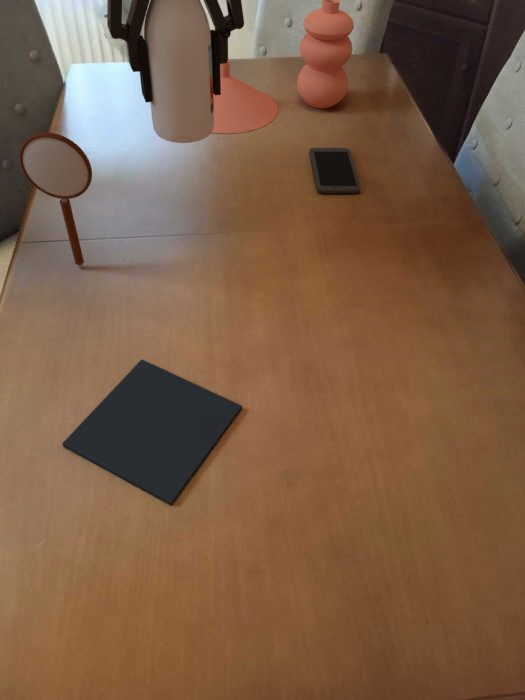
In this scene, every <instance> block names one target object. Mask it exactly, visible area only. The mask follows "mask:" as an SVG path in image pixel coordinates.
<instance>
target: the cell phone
mask: <svg viewBox="0 0 525 700" xmlns="http://www.w3.org/2000/svg"><path fill="white" fill-rule="evenodd" d="M308 155H309V159H310V164H311V169H312V174H313V179H314V184H315V189H316V192H317V193H318V194H358V193H360V192H361V191H362V190H361V189H362V187H361V184H360V180H359V176H358V173H357V169H356V166H355V163H354V160H353V156H352V153H351V149H350V148H347V147H310V148H309V152H308Z"/></svg>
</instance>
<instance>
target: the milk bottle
mask: <svg viewBox="0 0 525 700" xmlns="http://www.w3.org/2000/svg"><path fill="white" fill-rule="evenodd" d="M210 30H211V27H210V23H209V19H208V15H207V13H206V11H205V8H204V6H203V4H202V1H201V0H150V1H149V4H148V8H147V12H146V15H145V19H144V24H143V38H144V41H145V43H146V48H147V57H148V67H149V77H150V86H151V96H152V102H149V104H150V112H151V121H152V128H153V130H154V132H155V134H156V135H157V136H158V137H159V138H160V139H162V140H164V141H167V142H172V143H175V144H191V143H196V142H200V141H202V140H204V139H207V138H208V137H209V136H210V135H211V134H212V133H211V132H212V131H213V128H214V99H213V67H212V45H211V33H210Z"/></svg>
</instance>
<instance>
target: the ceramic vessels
mask: <svg viewBox="0 0 525 700" xmlns="http://www.w3.org/2000/svg"><path fill="white" fill-rule="evenodd" d="M340 2H341V0H321V8H316V9H314V10H312V11H310V12H309V13H308V14H306V15H305V17H304V20H303V23H302V26H303V28H304V30H305V32H306V33H305V34H304V36H303V37H302V39H301V40H300V44H299V54H300V56H301V58H302V60H303V62H304V63H306V64H305V65H303V67H302V68H301V69H300V70H299V74H298V76H297V81H296V86H297V87H296V88H297V89H296V90H297V92H298V95H299V97H300V98H301V99H302V100H303V101H304V102H305V103H306V104H307V105H309V106H310V107H312V108H315V109H323V110H324V109H329V108H331V107H333V106H335V105H337V104H338V103H340V102H341V101H342V100H343V99H344V97H345V95H346V94H347V91H348V87H349V85H348V84H349V81H348V80H349V79H348V75H347V72H346V70H345V69H344V67H343V66H345V65H346V64H347V63H348V62H349V61H350V59H351V57H352V54H353V43H352V41H351V38H350V37H349V36H350V35H351V33H352V32H353V30H354V28H355V27H354V26H355V25H354V19H353V18H352V16H350V15H349V14H348V13H347V12H345V11H343V10H341V9H340ZM230 68H231V63H230V59H229V58H228V61H227V63H225V64H220V80H221V95H214V93H213V99H214V128H213V131H212V132H211V134H226V135H227V134H239V133H248V132H252V131H255V130H258V129H260V128H263V127H265V126H266V125H268V124H270V123H272V121H273V120H275V119H276V117H277V115H278V113H279V107H278V104H277V102H276V101H275V100H274V99H273V98H272V97H271V96H270V95H269V94H267V93H266V92H263V91H261V90H260V89H257V88H255V87H253V86H251V85H249V84H248V83H245V82H243V81H242V80H239V79H238V78H236V77H234V76H232V75H231V73H230V70H231V69H230Z"/></svg>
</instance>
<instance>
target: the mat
mask: <svg viewBox="0 0 525 700" xmlns="http://www.w3.org/2000/svg"><path fill="white" fill-rule="evenodd" d="M242 410H243V405H241V404H240V403H237V402H235V401H232V400H231V399H228V398H226V397H224V396H223V395H220V394H218V393H216V392H213V391H211V390H210V389H207V388H204V386H201V385H198V384H196V383H194V382H192V381H189V380H187V379H185V378H183V377H181V376H179V375H176V374H174V373H172V372H171V371H168V370H166V369H163V368H161V367H159V366H158V365H155V364H153V363H151V362H150V361H149V362H148V361H146V360H145V359H140V360H139V361H138V362H137V363H136V364H135V365H134V367H132V369H131V370H130V371H129V372H128V373H127V374H126V375H125V376H124V377H123V378H122V379H121V380H120V382H119V383H117V385H116V386H115V387H114V388H113V389H112V390H111V391H110V392H109V393H108V394H107V395H106V397H104V398H103V399H102V400H101V402H100V403H99V404H98V405H97V406H96V407H95V408H94V409H93V410H92V411H91V413H89V414H88V415H87V417H86V418H84V419H83V421H82V422H81V423H80V424H79V425H77V427H75V428H76V429H74V430H73V432H71V434H70V435H68V437H67V438H66V439H65V440H64V441H63V442H62V443H61V445H62V447H63V448H65V449H67V450H68V451H70V452H72V453H74V454H76V455H77V456H79V457H81V458H83V459H85V460H87V461H89V462H91V463H92V464H93V465H96V466H98V467H100V468H102V469H103V470H105V471H107V472H109V473H110V474H113V475H114V476H116V477H117V478H120V479H122V480H123V481H125V482H127V483H129V484H131V485H132V486H134V487H136V488H138V489H140V490H142V491H144V492H145V493H147V494H149V495H150V496H153V497H154V498H156V499H158V500H160V501H162V502H164V503H166V504H168V505H169V506H171V507H172V505H174V503H175V502H176V501H177V499H178V498H179V496H180V495H181V494H182V492H183V491H184V489H185V488H186V486H187V485H188V484H189V483H190V481H191V480H192V478H193V477H194V476H195V474H196V473H197V471H198V470H199V469H200V467H201V466H202V465H203V463H204V462H205V461H206V459H207V458H208V456H209V455H210V454H211V452H212V451H213V449H214V448H215V447H216V445H217V444H219V443H218V442H219V441H220V440H221V438H223V436H224V435H225V433H226V431H227V430H228V429H229V428H230V426H231V425H232V423H233V422H234V421H235V419H236V418H237V416H238V415H239V414H240V412H241V411H242Z"/></svg>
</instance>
